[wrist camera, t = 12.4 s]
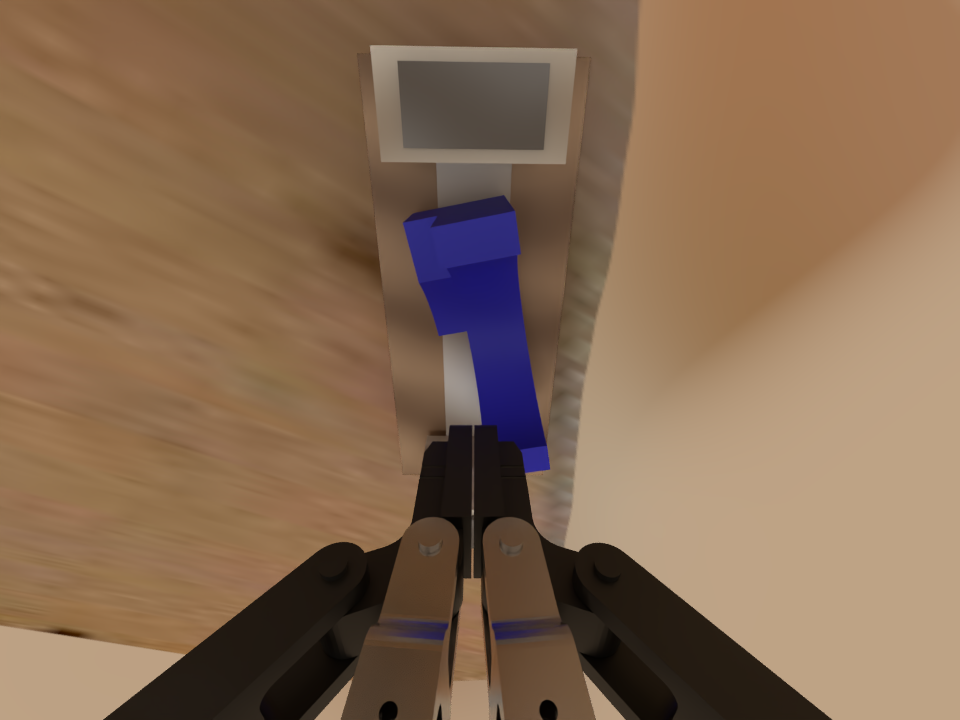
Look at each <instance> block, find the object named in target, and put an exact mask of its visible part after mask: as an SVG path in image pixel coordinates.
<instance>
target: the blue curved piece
mask: <svg viewBox="0 0 960 720" xmlns="http://www.w3.org/2000/svg"><path fill="white" fill-rule="evenodd" d="M403 226H404V229H405V233H406V237H407V241H408V244H409V248H410V252H411V256H412V259H413V263H414V267H415V271H416V274H417V278H418V282H419V284H420V286H421V288H422V290H423V292H424V294H425V296H426V299H427V301H428V303H429V306H430V309H431V312H432V315H433V318H434V321H435V324H436V328H437V331H438V335H439V336H443V335H448V334H454V333H460V332H466V331H467V334H468V339H469V344H470V349H471V354H472V360H473V365H474V371H475V377H476V384H477V390H478V397H479V405H480V413H481V422H482V425H497V432H498V441H514V443H515V444H516V445H517V447H518V448H519V449H520V451H521V452H522V456H523V462H524V468H525V473H529V472H536V471H543V470H550V465H549V457H548V450H547V444H546V440H545V435H544V431H543V426H542V422H541V417H540V412H539V407H538V402H537V397H536V392H535V386H534V381H533V375H532V370H531V364H530V358H529V352H528V346H527V340H526V333H525V326H524V320H523V312H522V305H521V297H520V288H519V278H518V264H517V255H520V254H521V251H520V243H519V236H518V229H517V221H516V214H515V210H514V209H513V207H512V206H511V204H510V203H509V202H508V200H507V199H506V197H505V196H504V195H502V196H497V197H492V198H487V199H482V200H477V201H472V202H467V203H462V204H457V205H452V206H447V207H442V208H437V209H432V210H427V211H422V212H417V213H413V214H412V215H411V216H410V217H409V218H407V219H406V220H405V221H404V222H403Z"/></svg>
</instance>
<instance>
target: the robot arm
mask: <svg viewBox="0 0 960 720" xmlns="http://www.w3.org/2000/svg"><path fill="white" fill-rule="evenodd" d="M471 539H472V425H450V427H449V437H448V441H433V442H432V443H431V444H430V445H429V447H428V448H427V449H426V451H425V452H424V456H423V461H422V468H421V473H420V479H419V484H418V490H417V496H416V502H415V507H414V513H413V519H412V523H411V525H410V526H409V527H408V529H407V530H406V531H405V533H404V534H403V536H402V537H401V538H400V539H399V540H397V541H396V542H394V543H392V544H391V545H388V546H386V547H383V548H380V549H376V550H373V551H370V552H366V553H364V551H363V550H362V549H361V548H360V547H359V546H357V545H355V544H353V543H349V542H339V543H334V544H331V545H328V546H326V547H324V548H322V549H321V550H319V551H318V552H316V553H315V554H314V555H313V556H311V557H310V558H309V559H307V560H306V561H305V562H304V563H302V564H301V565H300V566H298V567H297V568H296V569H295V570H293V571H292V572H291V573H290V574H288V575H287V576H286V577H284V578H283V579H282V580H281V581H279V582H278V583H277V584H276V585H274V586H273V587H272V588H270V589H269V590H268V591H267V592H265V593H264V594H263V595H262V596H260V597H259V598H258V599H256V600H255V601H254V602H253V603H251V604H250V605H249V606H247V607H246V608H245V609H244V610H242V611H241V612H240V613H239V614H237V615H236V616H235V617H233V618H232V619H231V620H230V621H228V622H227V623H226V624H225V625H223V626H222V627H221V628H219V629H218V630H217V631H216V632H214V633H213V634H212V635H211V636H209V637H208V638H207V639H205V640H204V641H203V642H202V643H200V644H199V645H198V646H196V647H195V648H194V649H193V650H191V651H190V652H189V653H188V654H186V655H185V656H184V657H183V658H181V659H180V660H179V661H177V662H176V663H175V664H174V665H172V666H171V667H170V668H168V669H167V670H166V671H165V672H163V673H162V674H161V675H160V676H158V677H157V678H156V679H154V680H153V681H152V682H151V683H149V684H148V685H147V686H145V687H144V688H143V689H142V690H140V691H139V692H138V693H137V694H135V695H134V696H133V697H131V698H130V699H129V700H128V701H127V702H125V703H124V704H123V705H121V706H120V707H119V708H117V709H116V710H115V711H114V712H112V713H111V714H110V715H109V716H107V717H106V718H105V719H103V720H314V719H315V718H316V717H317V716H318V715H319V714H320V713H321V712H322V710H323V709H324V708H325V707H326V706H327V705H328V704H329V702H330V701H331V700H332V699H333V698H334V697H335V696H336V695H337V694H338V693H339V692H340V690H341V689H342V688H343V687H344V686H345V685H346V684H347V683H348V681H349V680H350V679H351V678H352V677H353V676H354V677H353V680H352V684H351V687H350V690H349V694H348V697H347V701H346V704H345V707H344V710H343V714H342V717H341V720H450V716H451V715H450V714H451V698H452V686H453V677H454V668H455V658H456V649H457V640H458V630H459V621H460V610H461V604H462V601H463V578H471ZM474 578H481V614H482V626H483V638H484V650H485V661H486V673H487V684H488V697H489V720H596V718H595V715H594V711H593V707H592V704H591V700H590V697H589V693H588V689H587V685H586V682H585V678H584V674H583V671H584V673H585V674H586V675H587V676H588V677H589V678H590V680H591V681H592V682H593V683H594V684H595V685H596V686H597V687H598V689H599V690H600V691H601V692H602V693H603V694H604V696H605V697H606V698H607V699H608V700H609V701H610V702H611V704H612V705H613V706H614V707H615V708H616V709H617V710H618V711H619V713H620V714H621V715H622V716H623V717H624V718H625V719H626V720H832V719H831V718H829V717H828V716H827V715H826V714H824V713H823V712H822V711H821V710H819V709H818V708H817V707H816V706H814V705H813V704H812V703H811V702H809V701H808V700H807V699H806V698H805V697H803V696H802V695H801V694H799V693H798V692H797V691H796V690H795V689H793V688H792V687H791V686H790V685H788V684H787V683H786V682H784V681H783V680H782V679H781V678H780V677H778V676H777V675H776V674H775V673H773V672H772V671H771V670H770V669H768V668H767V667H766V666H765V665H763V664H762V663H761V662H760V661H758V660H757V659H756V658H755V657H754V656H752V655H751V654H750V653H748V652H747V651H746V650H745V649H744V648H742V647H741V646H740V645H738V644H737V643H736V642H735V641H734V640H732V639H731V638H730V637H729V636H727V635H726V634H725V633H724V632H722V631H721V630H720V629H718V628H717V627H716V626H715V625H714V624H712V623H711V622H710V621H709V620H707V619H706V618H705V617H704V616H703V615H701V614H700V613H699V612H697V611H696V610H695V609H694V608H693V607H691V606H690V605H689V604H688V603H686V602H685V601H684V600H683V599H681V598H680V597H678V595H676V594H675V593H674V592H673V591H671V590H670V589H669V588H668V587H666V586H665V585H664V584H663V583H661V582H660V581H659V580H658V579H657V578H655V577H654V576H653V575H652V574H650V573H649V572H648V571H647V570H645V569H644V568H643V567H641V566H640V565H639V564H638V563H637V562H635V561H634V560H633V559H632V558H630V557H629V556H628V555H627V554H625V553H624V552H623V551H621V550H620V549H618V548H616V547H614V546H612V545H609V544H605V543H592V544H589V545H586V546H584V547H583V548H582V549H581V550H580V551H579V552H576V551H573V550H569V549H566V548H563V547H560V546H557V545H555V544H553V543H551V542H549V541H548V540H546V539H545V538H544V537H543V536H542V535H541V534H540V533H539V532H538V531H537V529H536V527H535V525H534V523H533V519H532V513H531V506H530V500H529V494H528V487H527V481H526V475H525V468H524V462H523V456H522V452H521V451H520V449H519V448H518V447H517V445H516V444H515V443H514V441H498V432H497V425H474Z"/></svg>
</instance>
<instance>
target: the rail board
mask: <svg viewBox="0 0 960 720" xmlns="http://www.w3.org/2000/svg"><path fill="white" fill-rule="evenodd" d="M370 50H371V54H363V53H357V58H358V67H359V76H360V85H361V95H362V104H363V113H364V122H365V132H366V141H367V150H368V159H369V168H370V178H371V187H372V196H373V205H374V214H375V224H376V233H377V242H378V251H379V260H380V270H381V279H382V288H383V297H384V306H385V316H386V325H387V334H388V343H389V353H390V362H391V371H392V380H393V389H394V399H395V408H396V417H397V426H398V435H399V445H400V454H401V463H402V472H403V475H420V473H421V468H422V461H423V456H424V452H425V451H426V449H427V448H428V447H429V445H430V444H431V443H432V442H433V441H448V437H449V427H450V425H472V539H471V548H474V425H482V422H481V413H480V405H479V397H478V390H477V384H476V377H475V371H474V365H473V360H472V354H471V349H470V344H469V339H468V334H467V331H466V332H460V333H454V334H448V335H443V336H439V335H438V331H437V328H436V324H435V321H434V318H433V315H432V312H431V309H430V306H429V303H428V301H427V299H426V296H425V294H424V292H423V290H422V288H421V286H420V284H419V282H418V278H417V274H416V271H415V267H414V263H413V259H412V256H411V252H410V248H409V244H408V241H407V237H406V233H405V229H404V226H403V222H404V221H405V220H406V219H407V218H409V217H410V216H411V215H412V214H413V213H417V212H422V211H427V210H432V209H437V208H442V207H447V206H452V205H457V204H462V203H467V202H472V201H477V200H482V199H487V198H492V197H497V196H502V195H504V196H505V197H506V199H507V200H508V202H509V203H510V204H511V206H512V207H513V209H514V210H515V214H516V221H517V229H518V236H519V243H520V251H521V254H520V255H517V264H518V278H519V288H520V297H521V305H522V312H523V320H524V326H525V333H526V340H527V346H528V352H529V358H530V364H531V370H532V375H533V381H534V386H535V392H536V397H537V402H538V407H539V412H540V417H541V422H542V426H543V431H544V435H545V440H546V443H547V434H548V425H549V417H550V408H551V399H552V391H553V382H554V373H555V365H556V356H557V347H558V339H559V330H560V321H561V313H562V304H563V295H564V287H565V278H566V269H567V261H568V252H569V244H570V235H571V226H572V218H573V209H574V200H575V192H576V183H577V174H578V166H579V157H580V148H581V140H582V131H583V122H584V114H585V105H586V96H587V88H588V79H589V70H590V62H591V57H577V49H564V48H505V47H445V46H386V45H370ZM525 475H543V471H536V472H529V473H525Z"/></svg>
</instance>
